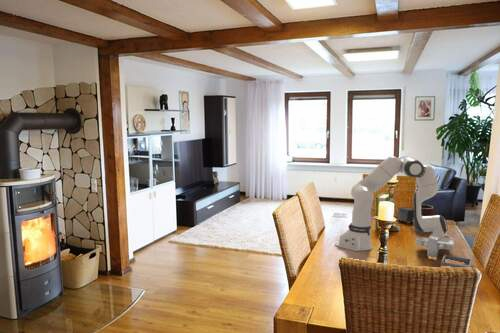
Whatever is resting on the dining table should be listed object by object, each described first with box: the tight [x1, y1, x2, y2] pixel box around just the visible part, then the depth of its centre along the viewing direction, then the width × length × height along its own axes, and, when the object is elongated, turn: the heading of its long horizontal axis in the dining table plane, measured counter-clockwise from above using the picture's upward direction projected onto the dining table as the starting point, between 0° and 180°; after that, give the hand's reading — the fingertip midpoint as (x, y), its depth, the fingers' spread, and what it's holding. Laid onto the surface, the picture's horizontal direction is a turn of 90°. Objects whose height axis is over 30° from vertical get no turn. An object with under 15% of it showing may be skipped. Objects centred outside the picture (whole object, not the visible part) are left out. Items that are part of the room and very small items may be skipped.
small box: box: [397, 206, 414, 223], centre depth 306 cm, size 11×6×10 cm, turn 22°
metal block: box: [426, 235, 439, 258], centre depth 224 cm, size 5×5×12 cm
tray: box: [440, 254, 474, 268], centre depth 212 cm, size 14×14×4 cm
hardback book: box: [374, 192, 394, 230], centre depth 290 cm, size 18×7×24 cm, turn 146°
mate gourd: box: [412, 204, 435, 219], centre depth 282 cm, size 16×14×20 cm
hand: (432, 246), depth 223 cm, fingers closed on metal block, 5 cm apart
